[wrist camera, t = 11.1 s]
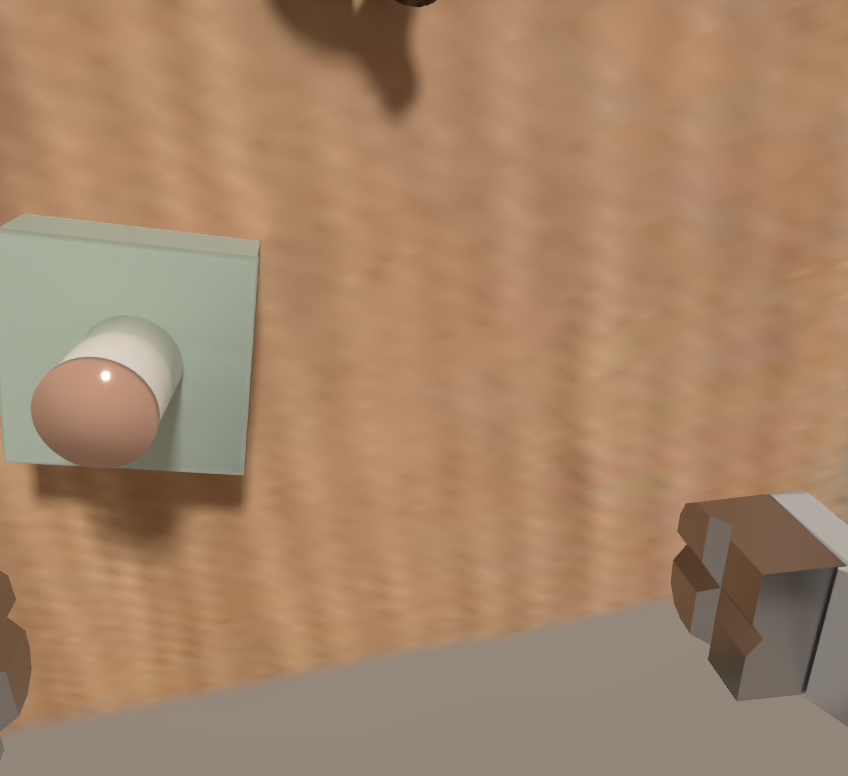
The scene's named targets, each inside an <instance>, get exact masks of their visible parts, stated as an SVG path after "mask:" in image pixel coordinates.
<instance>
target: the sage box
mask: <svg viewBox="0 0 848 776" xmlns="http://www.w3.org/2000/svg"><path fill="white" fill-rule="evenodd" d="M260 242H261V241H256V240H247V239H239V238H230V237H222V236H213V235H204V234H196V233H187V232H179V231H170V230H162V229H153V228H145V227H136V226H127V225H119V224H110V223H102V222H93V221H85V220H76V219H67V218H59V217H50V216H42V215H33V214H25V213H24V214H22V215H20V216H19V217H17V218H15V219H13V220H11V221H9V222H8V223H6V224H4V225H2V226H0V412H1V427H2V441H3V456H4V462H13V463H31V464H49V465H67V466H80V465H77V464H74V463H72V462H70V461H68V460H66V459H64V458H62V457H60V456H59V455H58V454H56V453H55V452H54V451H52V450H51V449H50V448H49V447H48V446H47V445H46V444H45V443H44V441H43V440H42V439H41V437H40V436H39V434H38V433H37V431H36V429H35V427H34V424H33V421H32V416H31V401H32V396H33V393H34V391H35V389H36V387H37V385H38V384H39V383H40V381H41V380H42V379H43V378H44V377H45V376H46V374H47V373H48V372H49V371H51V370H52V369H53V368H54V367H56V366H57V365H59V363H60V362H61V361H62V360H63V359H64V358H65V357H66V356H67V354H68V353H69V352H70V351H71V350H72V349H73V348H74V346H75V345H76V344H77V343H78V342H79V341H80V340H81V338H82V337H83V336H84V335H85V334H86V333H87V332H88V331H89V329H91V328H92V327H93V326H94V325H95V324H96V323H98V322H100V321H102V320H104V319H106V318H109V317H113V316H119V315H131V316H137V317H141V318H144V319H147V320H149V321H151V322H153V323H155V324H157V325H158V326H160V327H161V328H163V329H164V330H165V331H166V332H167V333H168V334H169V335H170V336H171V337H172V338H173V340H174V341H175V343H176V344H177V346H178V348H179V351H180V353H181V357H182V363H183V369H182V376H181V379H180V382H179V384H178V386H177V388H176V390H175V392H174V394H173V396H172V398H171V400H170V402H169V404H168V406H167V408H166V410H165V412H164V414H163V416H162V418H161V420H160V423H159V428H158V431H157V433H156V436H155V438H154V440H153V442H152V443H151V445H150V447H149V448H148V449H147V451H146V452H145V453H144V454H143V455H142V456H140V457H139V458H138V459H136V460H135V461H133V462H131V463H129V464H127V465H124V466H121V467H116V468H122V469H140V470H158V471H176V472H194V473H212V474H231V475H244V466H245V452H246V440H247V430H248V415H249V401H250V387H251V372H252V358H253V343H254V329H255V315H256V300H257V286H258V271H259V257H260Z"/></svg>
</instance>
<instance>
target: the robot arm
mask: <svg viewBox="0 0 848 776" xmlns="http://www.w3.org/2000/svg"><path fill="white" fill-rule="evenodd" d="M678 533H679V534H680V536H681V537H682V539H683V540H684V541H685V543H686V544H687V545H686V546H685V547H684V548H683V549H682V550H681V552H680V553H679V554H678V555H677V556H676V557H675V559H674V560H673V566H672V575H671V587H672V593H673V599H674V604H675V607H676V609H677V611H678V614H679V616H680V619H681V620H682V622H683V623H684V625H685V627H686V628H687V629H688V631H689V632H690V634H692V635H694V636H696V637H697V638H699V639H701V640H703V641H704V642H706V643H708V644H710V651H709V656H708V660H709V662H710V663H711V665H712V666H713V667H714V669H715V671H716V672H717V673H718V675H719V676H720V678H721V679H722V681H723V682H724V684H725V685H726V686H727V688H728V689H729V691H730V692H731V694H732V695H733V696H734V698H735V699H736V701H744V700H752V699H762V698H772V697H781V696H791V695H800V694H805V698H806V699H808V700H809V701H811V702H812V703H813V704H815V705H816V706H818V707H820V708H821V709H822V710H824V711H825V712H827V713H829V714H830V715H831V716H833V717H834V718H836V719H837V720H839V721H840V722H842V723H843V724H845V725H846V726H848V525H846V524H845V523H844V522H843V521H842V520H840V519H839V518H838V517H837V516H836V515H834V514H833V513H832V512H831V511H830V510H828V509H827V508H826V507H825V506H824V505H822V504H821V503H820V502H819V501H818V500H816V499H815V498H814V497H813V496H812V495H810V494H809V493H807V492H804V491H801V490H798V489H795V490H787V491H780V492H772V493H764V494H760V495H755V496H746V497H737V498H728V499H720V500H711V501H702V502H693V503H686V504H685V506H684V508H683V510H682V512H681V514H680V519H679V525H678ZM15 601H16V598H15V595H14V592H13V589H12V586H11V583H10V580H9V577H8V575H6V574H5V573H3V572H2V571H0V731H2V730H3V729H4V728H5V727H6V726H8V725H9V724H10V723H11V722H12V721H13V720H15V719H16V718H17V717H18V716H19V715H20V712H21V710H22V707H23V705H24V702H25V700H26V697H27V695H28V688H29V682H30V675H31V656H30V647H29V643H28V639H27V636H26V632H25V630H24V629H22V628H21V627H20V626H18V625H17V624H16V623H14V622H13V621H12V620H10V619H9V618H8V617H7V616H8V614H9V612H10V610H11V608H12V606H13V604H14V602H15ZM3 752H4V747H3V744H2V741H1V738H0V759H1V756H2V754H3Z"/></svg>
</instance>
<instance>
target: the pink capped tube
mask: <svg viewBox="0 0 848 776" xmlns="http://www.w3.org/2000/svg"><path fill="white" fill-rule="evenodd" d="M182 369H183V363H182V357H181V353H180V351H179V348H178V346H177V344H176V343H175V341H174V340H173V338H172V337H171V336H170V335H169V334H168V333H167V332H166V331H165V330H164V329H163V328H161V327H160V326H158V325H157V324H155V323H153V322H151V321H149V320H147V319H144V318H141V317H137V316H131V315H119V316H113V317H109V318H106V319H104V320H102V321H100V322H98V323H96V324H95V325H94V326H93V327H92V328H91V329H89V331H88V332H87V333H86V334H85V335H84V336H83V337H82V338H81V340H80V341H79V342H78V343H77V344H76V345H75V346H74V348H73V349H72V350H71V351H70V352H69V353H68V354H67V356H66V357H65V358H64V359H63V360H62V361H61V362H60V363H59V365H57V366H56V367H54V368H53V369H52V370H51V371H49V372H48V373H47V374H46V376H45V377H44V378H43V379H42V380H41V381H40V383H39V384H38V385H37V387H36V389H35V391H34V393H33V396H32V401H31V416H32V421H33V424H34V427H35V429H36V431H37V433H38V434H39V436H40V437H41V439H42V440H43V441H44V443H45V444H46V445H47V446H48V447H49V448H50V449H51V450H52V451H54V452H55V453H56V454H58V455H59V456H60V457H62V458H64V459H66V460H68V461H70V462H72V463H74V464H77V465H80V466H84V467H88V468H95V469H109V468H116V467H121V466H124V465H127V464H129V463H131V462H133V461H135V460H136V459H138V458H139V457H140V456H142V455H143V454H144V453H145V452H146V451H147V449H148V448H149V447H150V445H151V443H152V442H153V440H154V438H155V436H156V433H157V431H158V428H159V423H160V420H161V418H162V416H163V414H164V412H165V410H166V408H167V406H168V404H169V402H170V400H171V398H172V396H173V394H174V392H175V390H176V388H177V386H178V384H179V382H180V379H181V376H182Z"/></svg>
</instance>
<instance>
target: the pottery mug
mask: <svg viewBox="0 0 848 776" xmlns="http://www.w3.org/2000/svg"><path fill="white" fill-rule="evenodd" d="M396 1H397V2H399V3H401V4H404V5H410V6H413V7H422V6H424V5H429V4H431V3H434V2H435V1H436V0H396Z"/></svg>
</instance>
